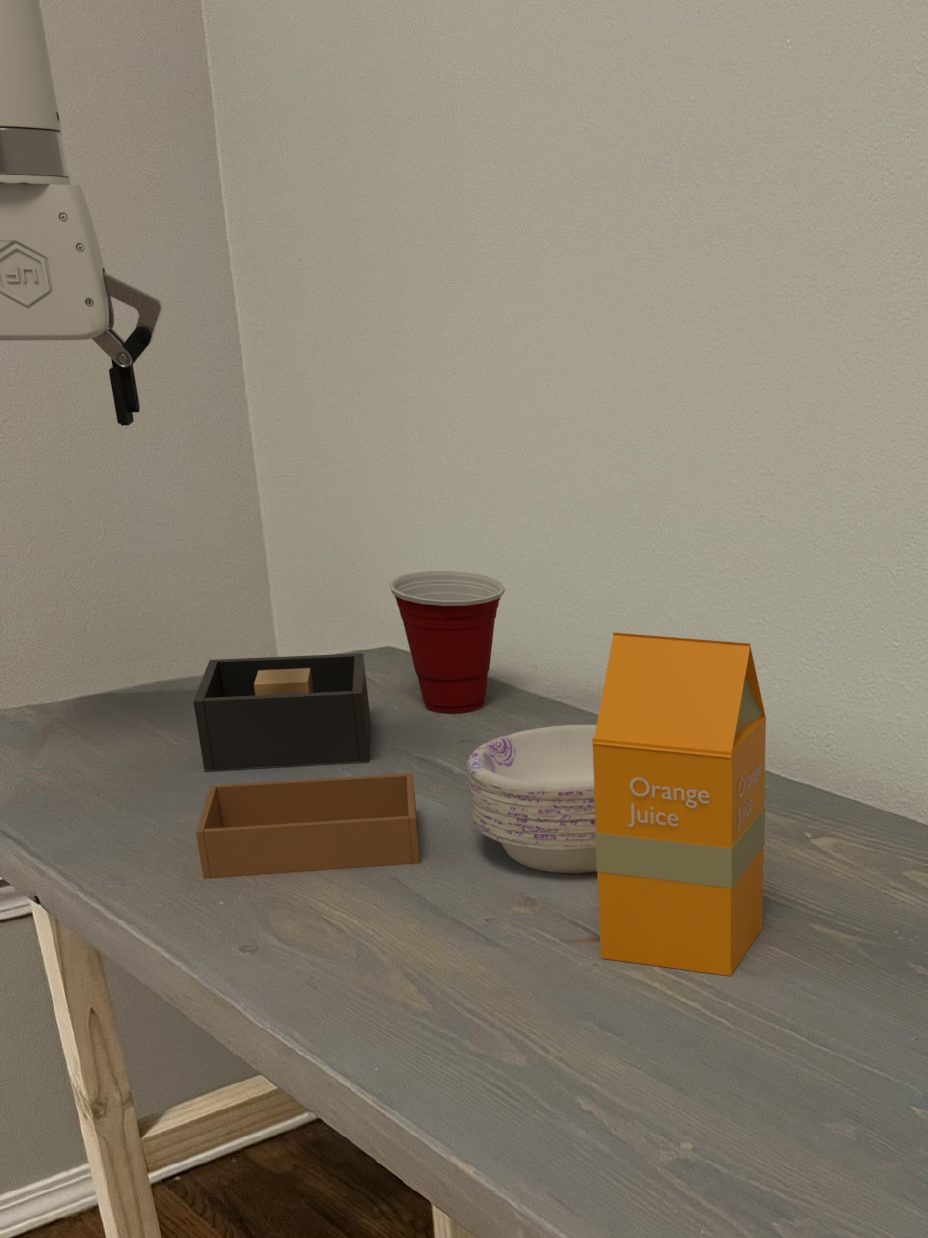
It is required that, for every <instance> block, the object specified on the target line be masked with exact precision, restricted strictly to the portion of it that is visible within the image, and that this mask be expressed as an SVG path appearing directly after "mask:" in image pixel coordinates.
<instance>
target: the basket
mask: <svg viewBox="0 0 928 1238" xmlns="http://www.w3.org/2000/svg"><path fill="white" fill-rule="evenodd" d="M303 668H310V670H311V678H312V686H313V693H300V694H279V695H258V696H256V695H255V688H254V683H255V679H256V676H257V673H258V671H259V670H280V669H303ZM366 674H367V673H366V666H365V656H364V653H363V652H358V653H356V652H355V653H338V654H336V653H335V654H316V655H315V654H314V655H292V656H291V655H289V656H268V657H244V658H242V657H241V658H220V659H209V660H208V663H207V666H206V668H205V671H204V673H203V674H202V675H203V676H202V678H201V680H200V683H199V686H198V688H197V691H196V693H195V695H194V699H193V701H192V702H193V708H194V715H195V720H196V728H197V734H198V739H199V745H200V752H201V756H202V758H201V759H202V765H203V770H204V773H214V772H215V773H216V772H231V771H233V772H234V771H250V770H265V769H284V768H300V767H301V768H302V767H303V768H304V767H318V766H320V767H321V766H335V765H336V766H337V765H352V764H353V765H354V764H369V763H370V761H371V728H372V727H371V724H372V720H371V712H370V702H369V693H368V684H367V675H366Z"/></svg>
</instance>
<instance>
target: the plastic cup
mask: <svg viewBox="0 0 928 1238" xmlns="http://www.w3.org/2000/svg"><path fill="white" fill-rule="evenodd" d="M388 587H389V589H390V592H391V595H393V596H394V598H395V601H396V605H397V607H398V611H399V614H400V617H401V620H402V623H403V627H404V631H405V635H406V640H407V643H408V649H409V652H410V655H411V660H412V664H413V668H414V672H415V674H416V676H417V680H418V683H419V688H420V693H421V696H422V699H423V702H424V705H425V706H426V709H427V710H430V711H432V712H438V713H445V714H446V713H448V714H453V713H454V714H457V713H466V712H467V713H468V712H471V711H475V710H478V709H481V708H483V706H484V705H485V699H486V697H487V688H488V678H489V677H488V676H489V671H490V667H491V658H492V657H491V656H492V648H493V639H494V629H495V620H496V617H497V612H498V608H499V605H500V600H501V597H502V596H503V595H504V594H505V591H506V587H505V585H504V584H503V582H501V581H500V580H498V579H496V578H493V577H491V576H488V575H483V574H480V573H479V574H478V573H474V572H465V571H456V570H426V571H418V572H410V573H406V574H403V575H401V576H400V575H399V576H396V577H394V578H393V579H392V580H391V581H389V582H388Z"/></svg>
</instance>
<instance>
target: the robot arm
mask: <svg viewBox="0 0 928 1238" xmlns="http://www.w3.org/2000/svg"><path fill="white" fill-rule="evenodd" d="M48 50H49V49H48V45H47V38H46V33H45V27H44V22H43V15H42V9H41V3H40V0H0V341H85V340H86V341H87V340H92V341H93V342H94V343H95V344H96V345H97V346H98V347H99V348H100V349H101V350H102V351H103V352H104V353H105V354H106V355H107V356H108V357H109V358H110V360H111V367H110V368H109V369H108V374H109V375H108V376H109V381H110V388H111V392H112V397H113V405H114V410H115V415H116V422H117V424H118V425H120V427H121V426H130V425H131V424H133V423H134V420H135V419H134V413H140V411H141V408H140V407H141V406H140V399H139V393H138V388H137V387H138V386H137V381H136V375H135V369H134V364H135V363H136V362H137V360H138V359H139V358H140V357H141V355H142V354H143V353H144V352H145V350H146V349H147V347H148V346H149V345H150V344H151V343H152V342H153V340H154V338H155V337H154V336H155V333H156V330H157V328H158V325H159V322H160V320H161V316H162V313H163V310H164V304H163V303H162V301H161V300H160V299H158V298H157V297H155V296H152V295H151V294H148V293H147V292H144V291H142V290H141V289H139V288H136V287H134V286H132V285H131V284H128V283H126V282H125V281H122V280H120V279H118V278H116V276H115V277H114V276H112V275H111V274H108V272H107V273H106V268H105V264H104V259H103V256H102V251H101V247H100V243H99V239H98V236H97V232H96V228H95V225H94V221H93V218H92V215H91V212H90V208H89V206H88V203H87V200H86V197H85V195H84V192H83V188H82V187H81V185H80V184H79V185H77V184H71V178H70V173H69V172H70V171H69V167H68V161H67V155H66V149H65V143H64V138H63V133H62V126H61V119H60V115H59V114H60V113H59V108H58V103H57V98H56V92H55V85H54V79H53V73H52V67H51V62H50V57H49V51H48ZM112 299H115V300H117V301H119V302H121V303H123V304H125V305H127V306H129V307H131V308H133V309H135V310H136V311H137V313H138V318H137V322H136V326H135V328H134V330H133V331H132V332H131V333H130V335H129V336H128V337H127V338H126V340H125V339H123V337H122V336H121V335H120V334H119V333H118V332H117V331H115V329H114V325H115V315H114V307H113V306H114V305H113V300H112Z"/></svg>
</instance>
